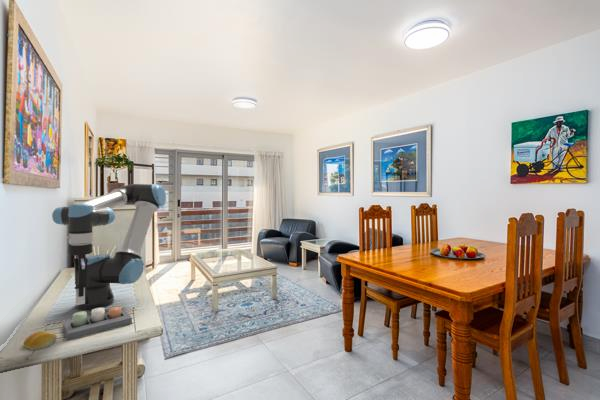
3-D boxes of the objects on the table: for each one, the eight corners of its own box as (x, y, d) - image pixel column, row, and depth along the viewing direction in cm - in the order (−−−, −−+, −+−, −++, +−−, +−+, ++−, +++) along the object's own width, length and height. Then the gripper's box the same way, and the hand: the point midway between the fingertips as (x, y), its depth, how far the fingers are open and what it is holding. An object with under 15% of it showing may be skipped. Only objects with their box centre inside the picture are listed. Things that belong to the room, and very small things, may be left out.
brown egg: (107, 317, 125) (107, 308, 125) (119, 315, 128) (119, 305, 128) (110, 321, 122) (110, 311, 122) (122, 318, 125) (122, 308, 125)
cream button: (90, 319, 121) (90, 309, 121) (103, 316, 124) (103, 306, 124) (92, 322, 118) (92, 312, 118) (105, 319, 121) (105, 309, 121)
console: (63, 327, 119) (63, 321, 119) (122, 312, 133) (122, 307, 133) (67, 340, 109) (67, 333, 108) (131, 323, 123) (131, 317, 123)
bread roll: (35, 352, 100) (34, 341, 100) (19, 347, 104) (19, 335, 104) (62, 341, 108) (62, 330, 108) (46, 336, 111) (46, 326, 111)
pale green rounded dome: (72, 323, 117) (71, 313, 117) (85, 320, 120) (85, 310, 120) (73, 327, 114) (73, 316, 113) (87, 323, 117) (87, 313, 116)
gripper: (66, 242, 118) (66, 301, 118) (71, 247, 109) (70, 311, 109) (89, 240, 123) (88, 297, 124) (95, 244, 114) (95, 306, 114)
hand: (80, 303), depth 116 cm, fingers closed
